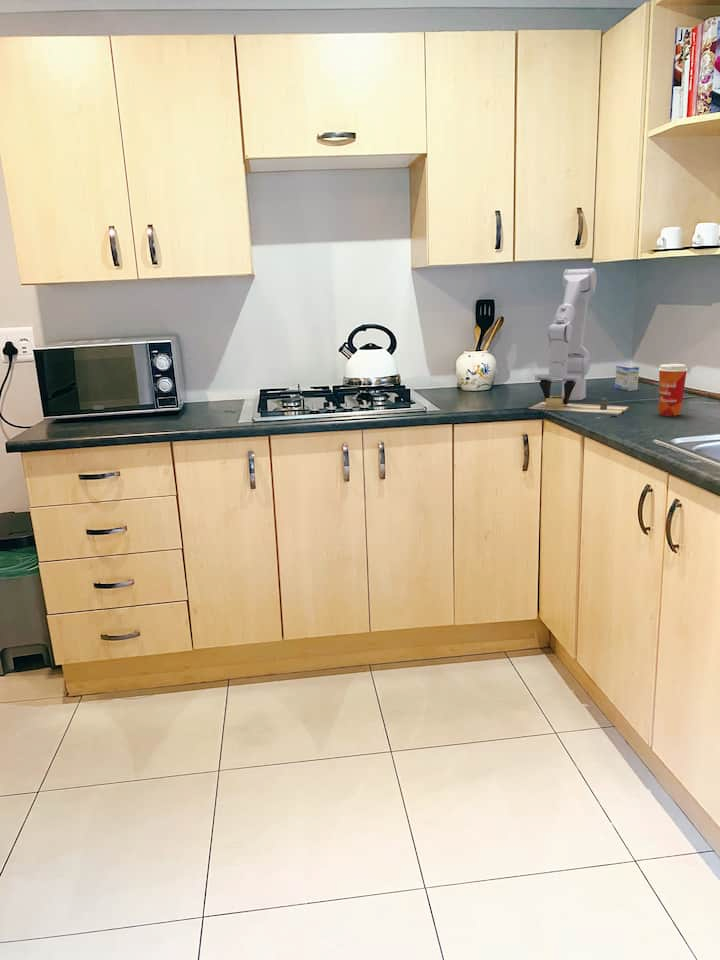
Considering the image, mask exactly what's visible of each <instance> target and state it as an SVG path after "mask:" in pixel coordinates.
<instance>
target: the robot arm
mask: <svg viewBox="0 0 720 960" xmlns="http://www.w3.org/2000/svg"><path fill="white" fill-rule="evenodd" d="M597 280H598V279H597V270H596V269H595V268H594V267H591V268H573V269H572V268H570V269H569V268H566V269H565V270H564V272H563V274H562V285H563V289H564V290H565V291H564V295H563V300H562V304H560V305H558V307H557V310H556V312H555V313H556V314H555V316H554V319H553V322H552V323H551V324H550V325H549V326H548V327H547V336H546V337H547V345H548V348H549V354H548V355H549V356H548V357H549V358H548V363H549V364H548V373H546V374H545V373H541V374H540V373H536V374H535V375H534V381H535V382H537V381H540V382H539V387H540V389H541V391H542V393H543V397H544V400H545V401H544V402H545V403H546V398H548V397H550V396H551V388H552V387H551V386H552V382H561V396H562V397H564V405H567V404H568V403H569V401H581V400H584V399H586V393H587V392H586V391H587V389H586V388H587V380H586V378H585V376H586V375H587V374H588V373H589V372H590V369H591V354H590V352H589V351H588V350H587V348H586V347H584V340H585V331H586V323H587V314H588V306H589V301H590V298H591V297H592V296H594V295H595V292H596V288H597V287H596V286H597Z"/></svg>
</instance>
